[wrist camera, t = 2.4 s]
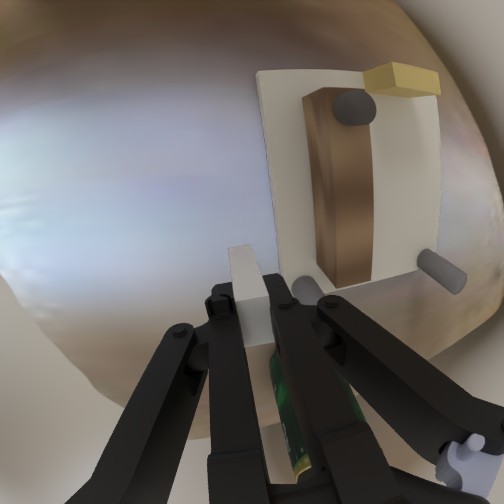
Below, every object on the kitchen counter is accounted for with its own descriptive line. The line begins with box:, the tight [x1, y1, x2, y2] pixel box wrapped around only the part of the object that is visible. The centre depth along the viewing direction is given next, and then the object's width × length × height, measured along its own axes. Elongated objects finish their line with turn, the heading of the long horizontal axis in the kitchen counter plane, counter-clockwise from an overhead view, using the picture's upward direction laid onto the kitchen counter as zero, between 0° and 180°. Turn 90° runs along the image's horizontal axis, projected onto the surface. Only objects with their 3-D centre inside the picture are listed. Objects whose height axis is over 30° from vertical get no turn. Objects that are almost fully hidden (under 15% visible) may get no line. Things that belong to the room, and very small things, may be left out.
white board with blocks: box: [255, 62, 467, 305], centre depth 20 cm, size 20×18×8 cm
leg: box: [302, 87, 377, 289], centre depth 18 cm, size 14×3×6 cm, turn 8°
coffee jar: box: [270, 352, 383, 484], centre depth 22 cm, size 10×8×19 cm
